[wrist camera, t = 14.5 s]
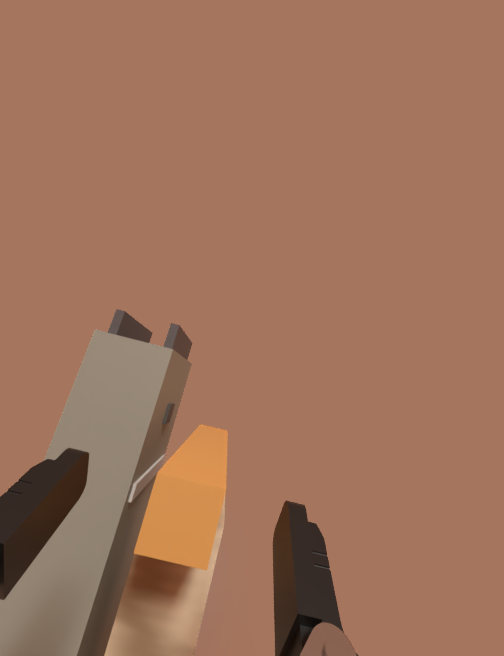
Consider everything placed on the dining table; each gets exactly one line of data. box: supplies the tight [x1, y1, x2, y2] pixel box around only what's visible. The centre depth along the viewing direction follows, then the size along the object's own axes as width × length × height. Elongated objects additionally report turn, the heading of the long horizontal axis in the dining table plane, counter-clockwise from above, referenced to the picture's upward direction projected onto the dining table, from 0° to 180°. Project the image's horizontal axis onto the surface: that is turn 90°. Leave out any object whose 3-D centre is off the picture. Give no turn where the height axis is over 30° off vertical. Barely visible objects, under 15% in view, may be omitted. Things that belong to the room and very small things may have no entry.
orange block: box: [134, 424, 228, 570], centre depth 24 cm, size 4×22×4 cm, turn 5°
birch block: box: [104, 497, 225, 656], centre depth 21 cm, size 5×12×22 cm, turn 5°
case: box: [0, 310, 192, 656], centre depth 27 cm, size 7×13×34 cm, turn 5°
